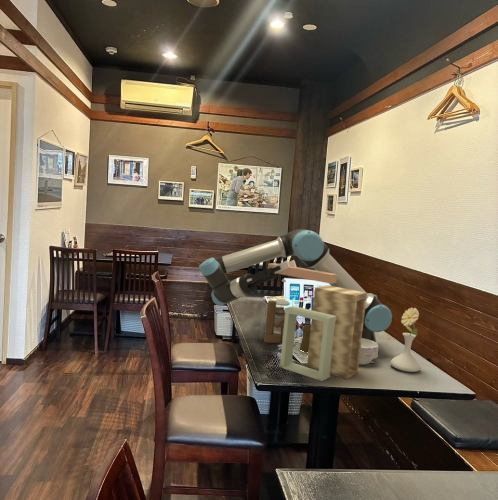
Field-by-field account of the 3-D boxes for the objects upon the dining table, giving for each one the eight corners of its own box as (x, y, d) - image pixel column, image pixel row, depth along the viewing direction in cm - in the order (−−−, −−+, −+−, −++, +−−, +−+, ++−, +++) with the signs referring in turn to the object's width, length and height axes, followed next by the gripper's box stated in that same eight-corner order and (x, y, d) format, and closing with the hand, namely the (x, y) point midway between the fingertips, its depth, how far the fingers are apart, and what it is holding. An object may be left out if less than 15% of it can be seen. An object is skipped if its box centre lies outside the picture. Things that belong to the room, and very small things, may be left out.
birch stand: (306, 366, 168) (314, 287, 165) (318, 360, 176) (327, 285, 173) (346, 379, 159) (356, 295, 156) (357, 372, 167) (366, 292, 164)
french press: (280, 327, 220) (285, 277, 218) (295, 334, 211) (301, 281, 208) (264, 328, 215) (269, 277, 213) (279, 335, 205) (284, 282, 203)
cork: (310, 354, 183) (313, 327, 182) (296, 350, 186) (299, 324, 185) (316, 351, 188) (318, 325, 187) (303, 347, 191) (305, 322, 190)
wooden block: (289, 344, 194) (293, 303, 192) (264, 342, 193) (268, 301, 191) (287, 341, 197) (291, 301, 196) (263, 340, 196) (267, 299, 195)
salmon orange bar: (267, 271, 168) (268, 263, 168) (273, 270, 171) (274, 263, 171) (331, 283, 153) (332, 274, 153) (336, 282, 156) (337, 274, 156)
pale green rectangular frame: (279, 367, 165) (285, 308, 163) (287, 363, 170) (293, 306, 168) (322, 381, 155) (329, 318, 153) (329, 376, 160) (336, 316, 157)
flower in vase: (387, 362, 181) (394, 301, 179) (416, 365, 180) (423, 304, 178) (394, 374, 168) (402, 308, 166) (425, 377, 167) (433, 312, 165)
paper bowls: (348, 352, 191) (350, 333, 190) (382, 362, 181) (385, 343, 180) (330, 359, 179) (333, 340, 178) (366, 370, 169) (368, 350, 169)
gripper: (259, 292, 183) (306, 271, 170) (234, 296, 169) (282, 274, 156) (253, 275, 185) (299, 253, 172) (227, 278, 171) (275, 254, 158)
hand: (291, 263), depth 164 cm, fingers closed on salmon orange bar, 4 cm apart
